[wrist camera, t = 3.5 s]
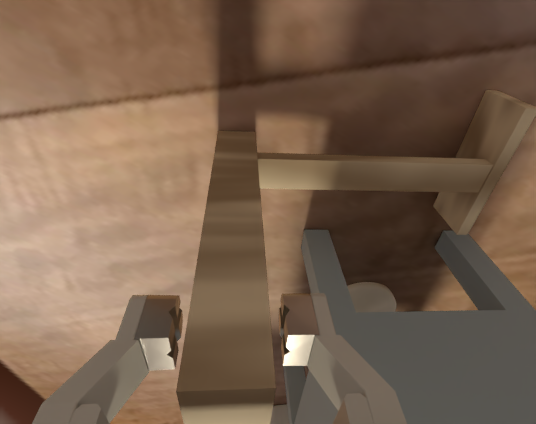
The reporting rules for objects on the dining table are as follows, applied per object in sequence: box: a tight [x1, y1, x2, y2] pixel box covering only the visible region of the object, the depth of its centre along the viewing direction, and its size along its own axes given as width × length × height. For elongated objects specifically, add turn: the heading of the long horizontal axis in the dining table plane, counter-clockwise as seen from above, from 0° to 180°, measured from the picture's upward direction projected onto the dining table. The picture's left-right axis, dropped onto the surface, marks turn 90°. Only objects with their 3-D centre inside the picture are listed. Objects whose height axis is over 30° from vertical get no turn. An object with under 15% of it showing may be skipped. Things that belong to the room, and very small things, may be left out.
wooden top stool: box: [283, 230, 536, 424], centre depth 26 cm, size 20×14×16 cm
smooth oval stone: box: [347, 282, 396, 312], centre depth 32 cm, size 7×7×1 cm
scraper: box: [176, 90, 536, 424], centre depth 15 cm, size 9×18×16 cm, turn 86°
